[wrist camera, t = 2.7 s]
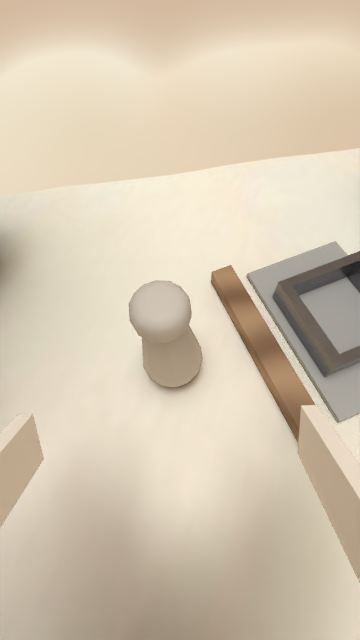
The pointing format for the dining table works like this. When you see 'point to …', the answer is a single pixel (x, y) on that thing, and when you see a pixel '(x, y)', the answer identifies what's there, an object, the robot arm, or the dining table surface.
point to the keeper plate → (319, 319)
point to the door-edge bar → (262, 347)
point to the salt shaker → (165, 333)
